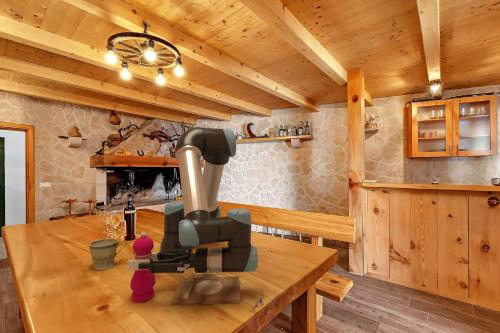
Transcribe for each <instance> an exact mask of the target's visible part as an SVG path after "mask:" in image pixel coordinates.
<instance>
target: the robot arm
mask: <svg viewBox="0 0 500 333" xmlns="http://www.w3.org/2000/svg"><path fill="white" fill-rule="evenodd" d="M236 153H237V138H236V135H235V133H234V131H233V130H231V129H228V128H223V127H222V128H215V127H214V128H213V127H201V126H196V127H195V126H194V127H191V128H188V129H187V130H185V131H184V132H183V133H182V134H181V135H180V136H179V138H178V139H177V141H176V144H175V148H174V155H175V156H174V157H175V160H176V161H177V162H178V165H179V166H178V167H179V176H180V185H181V186H180V187H181V195H182V196H181V197H182V199H181V200H176V201H175V200H174V201H171V202H168V203H166V204H165V206H164V208H163V209H164V210H163V211H164V212H163V216H164V217H163V237H162V239H161V243H160V246H159V252H152V257H151V259H150V260H135V259H129V260H127V271H135V270H150V273H151V274H154V275H155V274H181V275H182V274H183V275H184V274H185V270H189V269H194V273H195V274H196V273H206V272H210V273H217V275H219V273H250V272H256V271H257V269H258V266H259V265H258V264H259V258H258V257H259V255H258V254H259V253H258V248H257V247H256V246H252V214H251V211H250V210H249V209H246V208H233V209H229V210H228V211H227V214H226V216H221V211H222V210H221V204H220V203H219V202H218V199H217V198H218V194H219V189H220V185H221V181H222V177H223V172H224V168H225V166H226V165H227V164H228V163H229V161H230V158H234V157H235V156H236ZM201 158H202V159H203V161H204V165H203V170H202V166H201ZM226 242H227V244H226V245H227V246H210V247H209V248H208V247H207V246H206V247H205V246H204V247H198V246H201V245H202V246H203V245H210V244H218V243H226ZM193 247H197V248H196V249H195V252H193V250H192V249H193Z"/></svg>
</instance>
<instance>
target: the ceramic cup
mask: <svg viewBox="0 0 500 333" xmlns="http://www.w3.org/2000/svg"><path fill="white" fill-rule="evenodd" d="M123 243H124V244H125V245H124V246H123V247H122V248H121V249H120V250H118V252H117V249H118V247H119V245H121V244H123ZM88 246H89V251H90V252H89V253H90V256H91V260H92V264H93V270H96V271H103V270H108V269H110V268H112V267H114V263H115V259H116V257H117V255H118V254H119V253H121V251H122V250H123V249H125V248H126V246H127V242H126V241H124V240H122V241H119V240H118V238H111V237H110V238H102V239H101V238H100V239H96V240H93V241H92V242H91V241H90V243H89V244H88Z"/></svg>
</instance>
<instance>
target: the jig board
mask: <svg viewBox="0 0 500 333" xmlns="http://www.w3.org/2000/svg"><path fill="white" fill-rule="evenodd" d="M217 275H218V274H217V273H210V272H209V271H207V272H206V273H196V272H190V273H189V274H188V277H182V278H181V279H180V282H179V284H178V286H177V288H176V290H175V292H174V294H173V297H172V299H171V302H170V303H171V306H188V305H189V304H190V305H192V304H193V305H214V304H215V305H216V304H218V305H221V304H222V305H224V304H226V305H227V304H241V289H240V288H241V287H240V276H238V275H237V276H236V275H235V276H217ZM187 304H188V305H187Z"/></svg>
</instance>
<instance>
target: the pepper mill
mask: <svg viewBox="0 0 500 333" xmlns="http://www.w3.org/2000/svg"><path fill="white" fill-rule="evenodd" d="M154 242H155V241H154V240H153V239H152V238H151V237H149V236H147V232H146V231H142V232H141V233H140V237H138V238H136V239H135V240H134V241H133V243H132V250H133V252H134V259H133V260H150V259H151V257H152V253H153V252H152V250H153V249H154V246H155V243H154ZM155 285H156V275H155V273H154V274H151V273H150V270H134V273H133V274H132V277H131V279H130V285H129V287H130V290H131V291H132V292H131V301H133V302H135V303H143V302H144V303H145V302H147V301H149V300H151V299H153V297H154V296H155V289H154V287H155Z"/></svg>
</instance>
